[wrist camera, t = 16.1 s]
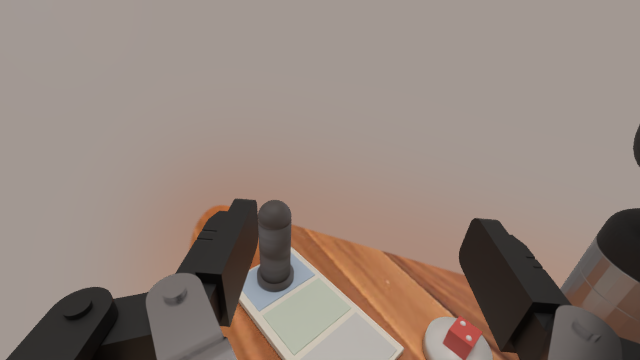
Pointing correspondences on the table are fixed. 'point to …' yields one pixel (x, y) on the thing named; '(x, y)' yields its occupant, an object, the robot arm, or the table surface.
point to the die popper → (454, 341)
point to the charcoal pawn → (274, 247)
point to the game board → (314, 319)
